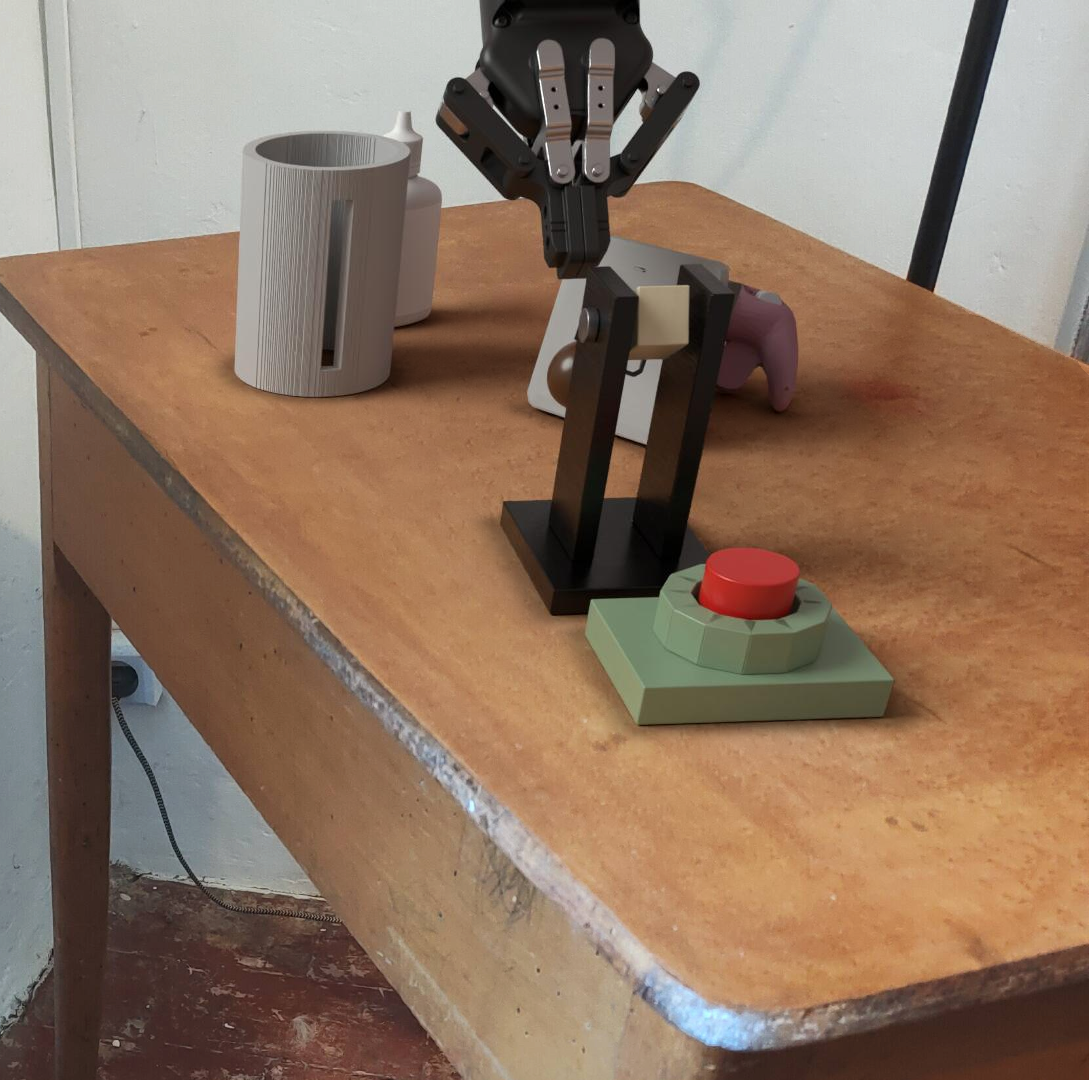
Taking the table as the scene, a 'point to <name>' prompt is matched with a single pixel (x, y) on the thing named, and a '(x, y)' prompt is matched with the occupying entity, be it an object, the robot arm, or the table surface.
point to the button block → (733, 659)
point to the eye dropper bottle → (416, 231)
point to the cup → (319, 260)
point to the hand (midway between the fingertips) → (579, 270)
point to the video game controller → (761, 345)
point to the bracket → (586, 447)
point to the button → (749, 584)
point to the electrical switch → (642, 376)
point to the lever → (636, 334)
